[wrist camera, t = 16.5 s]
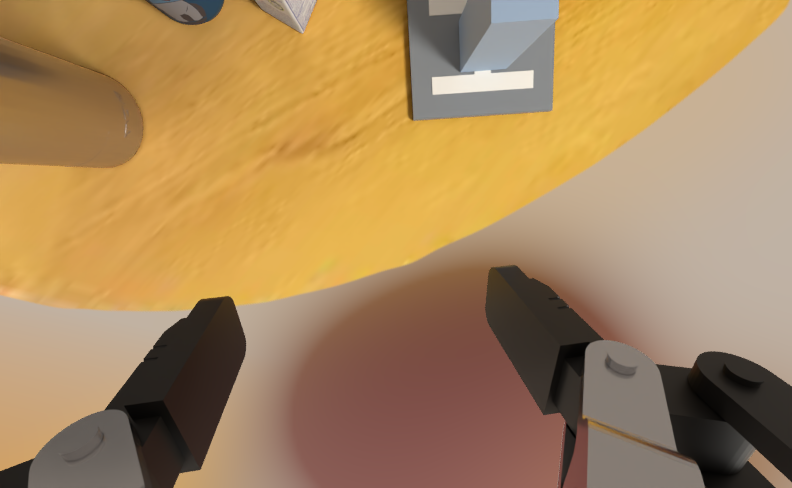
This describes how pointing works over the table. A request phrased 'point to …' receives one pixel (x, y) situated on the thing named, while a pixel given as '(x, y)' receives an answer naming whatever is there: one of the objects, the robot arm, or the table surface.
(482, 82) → the letter mat
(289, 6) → the medicine box
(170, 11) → the soda can
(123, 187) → the table surface
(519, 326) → the robot arm
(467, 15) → the blue block
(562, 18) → the table surface
